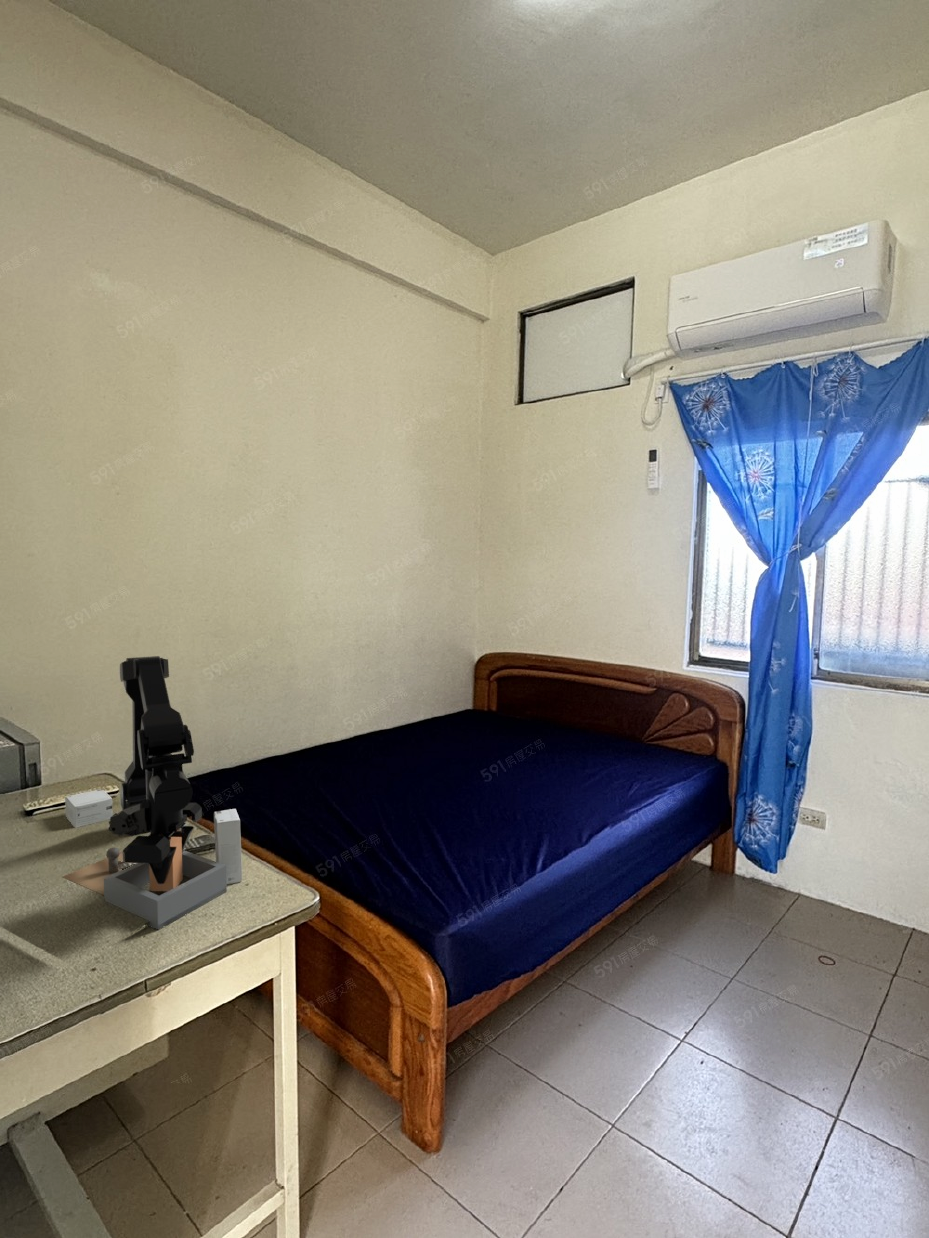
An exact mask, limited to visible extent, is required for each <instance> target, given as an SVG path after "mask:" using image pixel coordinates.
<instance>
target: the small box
mask: <svg viewBox="0 0 929 1238" xmlns="http://www.w3.org/2000/svg"><path fill="white" fill-rule="evenodd" d="M64 802H65V803H64V805H65V807H64V808H65V818H66V817H67V818H66V819H67V820H68V821H69V823H70V822H71V823H70V824H71V825H72V826H73V828H74V827H75V828H74V829H76V828H79V827H83V826H87V825H92V824H95V823H96V824H97V823H100V822H105V821H110V817H111V816H113V815H114V814H113V798H112V797H111V796H110V795H109V794H108V792H106V791H105V790H104V789H103V788H98V789H94V790H91V791H90V790H89V791H84V792H81V793H77V794H76V793H75V794H72V795H69V796H68V795H67V796H65V797H64Z"/></svg>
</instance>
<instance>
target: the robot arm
mask: <svg viewBox="0 0 929 1238" xmlns="http://www.w3.org/2000/svg"><path fill="white" fill-rule="evenodd" d="M169 668H170V667H169V659H168V658H164V657H160V656H159V655H157V656H156V655H154V656H140V657H139V656H138V657H126V658H125V661H122V662H121V663H120V664H119V680H120V682H123V686H124V689H125V693H126V695H128V697H129V698H130V700H131V702H132V704H131V705H132V706H131V707H132V708H131V709H132V711H131V712H132V761H131V763H130V764H129V766H128V767H127V768H126V770H125V771H124V782H122V783H121V786H120V794H119V795H120V796H119V797H120V806H121V810H120V811H119V812H118V813H114V814H113V816H111V817H110V820H108V824H109V826H108V831H109V832H111V834H113V835H116V837H121V836H124V834H125V835H128V836H131V837H133V836H136V837H135V838H134V839H133V840H132V841H130V842H129V844H128V845H126V846H125V847H124V848H123V849H122V851H123V861H124V862H125V863H149V865H150V867H151V869H152V871H153V874H154V876H155V878H156V881H157V883H158V884H164V883H165V881H166V878H167V875H168V872H169V869H170V866H171V863H172V860H173V857H174V854H175V851H176V847H170V841H171V837H182V853H183V850H184V851H185V848H186V846H187V843H188V841H189V840H190V839H189V838H190V837H191V834H192V833H193V831H194V826H191V825H187V822H186V821H188V818H191V821H192V822H193V823H198V822H199V820H201V818H203V816H202V815H203V814H202V813H203V811H202V810H203V809H202V808H203V807H202V806H201V805H200V804H198V803H197V802H192V797H193V795H194V794H193V793H194V791H193V787H192V785H191V783H190V781H189V779H188V777H186V775H185V773H184V769H183V765H187V764H192V763H193V760H192V758H193V756H194V755H195V749H194V744H193V738H192V733H191V730H190V729H189V727H188V725H187V724H184V722H183V718H182V716H181V715H182V714H181V713H180V712H179V711H177V710H176V709H174V708H173V707H171V703H170V702H171V701H170V698H169V693H168V689H167V685H166V680H165V679H168V678H169V677H170V672H169V671H170V669H169ZM182 751H184V752H182ZM181 752H182V753H181ZM175 753H176V754H175ZM143 834H148V835H143Z"/></svg>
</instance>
